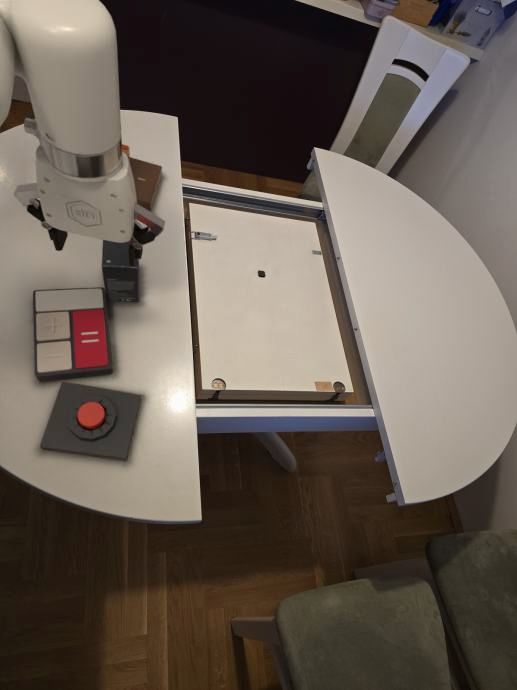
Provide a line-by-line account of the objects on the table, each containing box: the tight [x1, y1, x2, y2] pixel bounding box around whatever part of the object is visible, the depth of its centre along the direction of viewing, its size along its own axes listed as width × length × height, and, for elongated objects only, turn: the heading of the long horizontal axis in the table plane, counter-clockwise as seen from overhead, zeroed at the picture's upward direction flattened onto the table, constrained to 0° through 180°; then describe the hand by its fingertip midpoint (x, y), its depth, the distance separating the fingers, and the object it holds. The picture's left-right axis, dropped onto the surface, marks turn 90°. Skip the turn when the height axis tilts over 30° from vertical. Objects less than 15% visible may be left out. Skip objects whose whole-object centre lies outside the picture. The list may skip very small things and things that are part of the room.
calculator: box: [32, 286, 114, 383], centre depth 64 cm, size 11×4×15 cm
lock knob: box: [122, 143, 131, 163], centre depth 77 cm, size 5×2×5 cm, turn 174°
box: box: [101, 231, 140, 304], centre depth 67 cm, size 8×6×11 cm
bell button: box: [77, 402, 105, 429], centre depth 57 cm, size 4×4×2 cm
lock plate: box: [130, 156, 163, 213], centre depth 81 cm, size 14×11×3 cm
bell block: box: [39, 381, 142, 462], centre depth 59 cm, size 12×10×4 cm
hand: (98, 250), depth 54 cm, fingers open, 9 cm apart
